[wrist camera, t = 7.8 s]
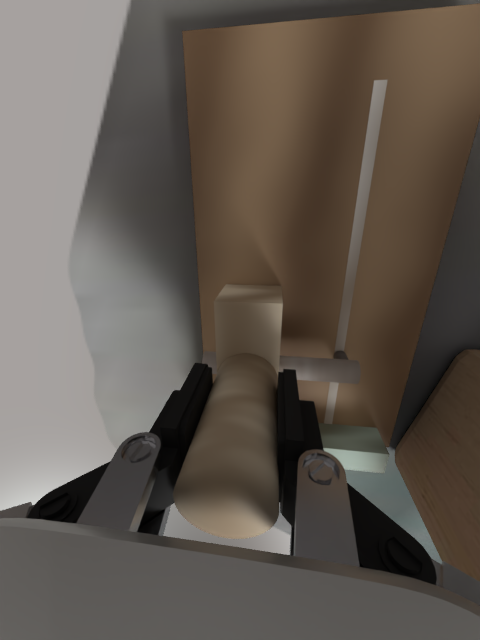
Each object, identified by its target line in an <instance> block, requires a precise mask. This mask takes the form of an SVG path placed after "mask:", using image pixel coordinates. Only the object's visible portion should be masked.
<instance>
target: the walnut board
mask: <svg viewBox="0 0 480 640" xmlns="http://www.w3.org/2000/svg"><path fill="white" fill-rule="evenodd" d="M182 34H183V49H184V65H185V80H186V96H187V111H188V126H189V142H190V157H191V173H192V188H193V203H194V219H195V234H196V250H197V265H198V280H199V296H200V311H201V327H202V342H203V354H204V352H205V351H211V352H216V340H215V318H214V300H215V299H216V297H217V296H218V295H219V293H220V292H221V290H222V289H223V288H224V286H225V285H226V284H233V285H269V286H282V299H283V309H282V326H281V343H280V356H295V357H312V358H328V359H334V357H333V355H334V353H335V352H336V351H340V350H341V351H344V352H345V353H346V355H347V357H348V359H349V360H358V362H359V364H360V369H361V376H360V381H359V383H358V384H350V383H336V382H322V381H308V380H297V384H298V392H299V400H305V401H314V404H315V408H316V413H317V418H318V423H319V428H320V434H321V439H322V444H323V449H324V451H326V452H328V453H330V454H332V455H333V456H335V457H336V458H337V459H338V460H339V461H340V463H341V464H342V465H343V467H344V469H348V470H357V471H367V472H376V473H384V472H385V468H386V465H387V461H388V457H389V453H388V451H387V448H386V447H389V444H390V441H391V437H392V434H393V430H394V426H395V423H396V419H397V415H398V412H399V408H400V405H401V401H402V397H403V394H404V390H405V387H406V383H407V379H408V376H409V372H410V368H411V365H412V361H413V358H414V354H415V350H416V347H417V343H418V339H419V336H420V332H421V329H422V325H423V321H424V318H425V314H426V310H427V307H428V303H429V300H430V296H431V292H432V289H433V285H434V281H435V278H436V274H437V271H438V267H439V263H440V260H441V256H442V252H443V249H444V245H445V242H446V238H447V234H448V231H449V227H450V223H451V220H452V216H453V213H454V209H455V205H456V202H457V198H458V194H459V191H460V187H461V184H462V180H463V176H464V173H465V169H466V166H467V162H468V158H469V155H470V151H471V147H472V144H473V140H474V137H475V133H476V129H477V126H478V122H479V118H480V4H470V5H459V6H448V7H438V8H427V9H416V10H405V11H394V12H384V13H373V14H362V15H351V16H340V17H330V18H319V19H308V20H297V21H286V22H276V23H265V24H254V25H243V26H232V27H222V28H211V29H200V30H189V31H182ZM216 375H217V374H212V376H213V383H214V380H215V378H216Z"/></svg>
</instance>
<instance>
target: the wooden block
mask: <svg viewBox="0 0 480 640" xmlns="http://www.w3.org/2000/svg"><path fill="white" fill-rule="evenodd" d="M395 463H396V465H397V467H398V469H399V471H400V474H401V476H402V478H403V480H404V482H405V484H406V486H407V488H408V490H409V492H410V495H411V497H412V499H413V501H414V503H415V505H416V507H417V509H418V511H419V513H420V516H421V518H422V520H423V522H424V524H425V526H426V528H427V530H428V532H429V534H430V536H431V539H432V541H433V543H434V545H435V547H436V549H437V551H438V553H439V555H440V557H441V560H442V562H443V561H445V562H446V563H448V564H450V565H452V566H453V567H455V568H457V569H459V570H460V571H462V572H464V573H466V574H467V575H469V576H471V577H472V578H474V579H476V580H478V581H479V582H480V350H476V349H468V350H464V351H462V352H461V353H460V354H458V355H457V356H456V357H455V359H454V360H453V362H452V363H451V365H450V366H449V368H448V369H447V371H446V372H445V374H444V375H443V377H442V378H441V380H440V382H439V383H438V385H437V386H436V388H435V389H434V391H433V392H432V394H431V395H430V397H429V398H428V400H427V401H426V403H425V404H424V406H423V407H422V409H421V411H420V412H419V414H418V415H417V417H416V418H415V420H414V421H413V423H412V424H411V426H410V427H409V429H408V430H407V432H406V433H405V435H404V436H403V438H402V439H401V441H400V443H399V444H398V446H397V447H396V451H395Z"/></svg>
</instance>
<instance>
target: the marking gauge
mask: <svg viewBox="0 0 480 640" xmlns="http://www.w3.org/2000/svg"><path fill="white" fill-rule="evenodd" d="M282 309H283V299H282V286H269V285H233V284H226V285H225V286H224V288H223V289H222V290H221V292H220V293H219V295H218V296H217V297H216V299H215V300H214V318H215V340H216V352H211V351H205V352H204V354H203V358H202V364H208V367H212V374H217V375H216V378H215V380H214V383H213V386H212V388H211V391H210V394H209V396H208V399H207V402H206V404H205V407H204V410H203V412H202V415H201V418H200V420H199V423H198V426H197V428H196V431H195V434H194V436H193V439H192V442H191V444H190V447H189V450H188V452H187V455H186V458H185V460H184V463H183V466H182V468H181V471H180V474H179V476H178V479H177V482H176V484H175V487H174V492H173V498H174V503H175V505H176V507H177V509H178V511H179V512H180V514H181V515H182V516H183V517H184V518H185V519H186V520H187V521H188V522H190V523H191V524H192V525H194V526H195V527H197V528H198V529H200V530H202V531H204V532H207V533H209V534H212V535H215V536H219V537H223V538H231V539H244V538H251V537H255V536H258V535H260V534H263V533H265V532H266V531H268V530H269V529H270V528H271V527H272V526H273V525H274V524H275V522H276V521H277V518H278V515H279V469H278V465H277V386H278V372H283V369H294V370H296V375H297V380H308V381H322V382H336V383H350V384H358V383H359V381H360V376H361V369H360V364H359V362H358V360H349V359H348V357H347V355H346V353H345V352H344V351H341V350H340V351H336V352H335V353H334V355H333V357H334V359H328V358H312V357H295V356H280V343H281V326H282Z"/></svg>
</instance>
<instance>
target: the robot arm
mask: <svg viewBox="0 0 480 640" xmlns="http://www.w3.org/2000/svg"><path fill="white" fill-rule="evenodd" d="M212 386H213V376H212V367H208V364H202V363H195V364H194V366H193V368H192V370H191V371H190V373H189V375H188V377H187V379H186V381H185V382H184V384H183V386H182V388H181V390H180V391H179V390H175V391H173V392H172V394H171V396H170V397H169V399H168V401H167V402H166V404H165V406H164V408H163V409H162V411H161V413H160V414H159V416H158V418H157V420H156V421H155V423H154V425H153V426H152V428H151V430H150V432H149V433H148V432H144V433H138V434H135V435H133V436H131V437H129V438H127V439H126V440H125V441H124V442H123V443H122V444H121V445H120V446H119V448H118V449H117V451H116V453H115V455H114V457H113V458H112V460H111V461H110V462H108V463H106V464H104V465H102V466H100V467H98V468H96V469H94V470H92V471H90V472H88V473H86V474H84V475H82V476H80V477H78V478H76V479H74V480H72V481H70V482H68V483H66V484H64V485H62V486H60V487H58V488H56V489H54V490H53V491H51V492H49V493H48V494H46V495H45V496H44V497H42V498H41V499H40V500H39V501H38V502H37V503H36V504H35V505H32V503H31V502H29V503H25V504H22V505H19V506H15V507H12V508H9V509H6V510H2V511H0V640H480V582H479V581H478V580H476V579H474V578H472V577H471V576H469V575H467V574H466V573H464V572H462V571H460V570H459V569H457V568H455V567H453V566H452V565H450V564H448V563H446V562H445V561H443V562H442V564H440V563H438V562H436V561H435V560H433V559H431V557H430V556H429V554H428V553H427V552H426V550H425V549H424V547H423V546H422V545H421V544H420V543H419V542H418V541H417V540H416V539H415V538H413V537H412V536H411V535H410V534H409V533H407V532H406V531H405V530H404V529H403V528H401V527H400V526H399V525H398V524H396V523H395V522H394V521H393V520H392V519H390V518H389V517H388V516H387V515H386V514H384V513H383V512H382V511H381V510H379V509H378V508H377V507H376V506H375V505H373V504H372V503H371V502H370V501H369V500H367V499H366V498H365V497H364V496H363V495H361V494H360V493H359V492H358V491H356V490H355V489H354V488H353V487H352V486H350V485H349V484H348V483H347V481H346V474H345V471H344V467H343V465H342V464H341V463H340V461H339V460H338V459H337V458H336V457H335V456H333V455H332V454H330V453H328V452H326V451H324V449H323V444H322V439H321V434H320V428H319V423H318V418H317V413H316V408H315V404H314V401H305V400H299V392H298V384H297V375H296V370H294V369H283V372H278V386H277V465H278V469H279V502H280V513H282V515H283V516H284V518H285V519H286V520H287V521H288V522H289V523H290V524H291V538H290V555H283V554H278V553H271V552H265V551H258V550H252V549H246V548H239V547H232V546H226V545H219V544H213V543H206V542H199V541H193V540H186V539H179V538H172V537H166V536H163V534H164V530H165V526H166V523H167V519H168V515H169V511H170V505H171V504H173V503H174V498H173V492H174V487H175V484H176V482H177V479H178V476H179V474H180V471H181V468H182V466H183V463H184V460H185V458H186V455H187V452H188V450H189V447H190V444H191V442H192V439H193V436H194V434H195V431H196V428H197V426H198V423H199V420H200V418H201V415H202V412H203V410H204V407H205V404H206V402H207V399H208V396H209V394H210V391H211V388H212Z"/></svg>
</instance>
